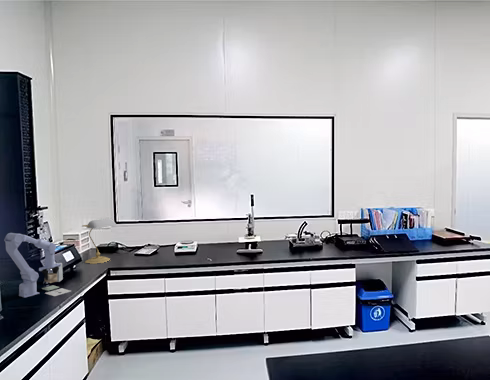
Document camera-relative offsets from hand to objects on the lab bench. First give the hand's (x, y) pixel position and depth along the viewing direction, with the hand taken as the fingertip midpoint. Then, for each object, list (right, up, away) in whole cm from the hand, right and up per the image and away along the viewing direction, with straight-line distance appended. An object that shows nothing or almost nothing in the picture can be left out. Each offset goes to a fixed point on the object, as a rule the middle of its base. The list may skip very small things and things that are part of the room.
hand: (50, 278), depth 238 cm
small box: (-7, -7, +18) cm, 21 cm away
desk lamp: (-1, -5, +80) cm, 80 cm away
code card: (+10, -7, -8) cm, 15 cm away
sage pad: (0, -7, 0) cm, 7 cm away
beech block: (0, -2, 0) cm, 2 cm away
